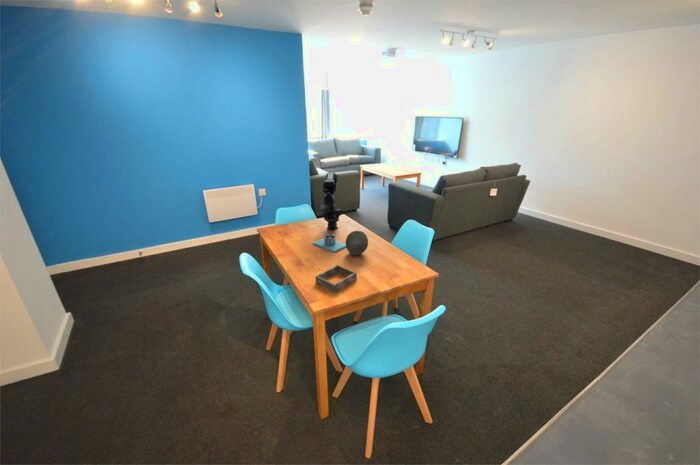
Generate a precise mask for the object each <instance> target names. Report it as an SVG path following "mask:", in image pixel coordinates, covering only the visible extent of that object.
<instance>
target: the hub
mask: <svg viewBox="0 0 700 465" xmlns="http://www.w3.org/2000/svg"><path fill="white" fill-rule="evenodd" d="M329 237H331V238H329ZM323 238H324V243H325V245H327V246H333V245H335V241H336V235H335V234H325V235H324V236H323Z"/></svg>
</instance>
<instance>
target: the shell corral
mask: <svg viewBox="0 0 700 465" xmlns="http://www.w3.org/2000/svg"><path fill="white" fill-rule="evenodd" d="M337 273H338V274H341V275H343V276H346V277H344V278H343V279H341V280H339V281H338V282H336V283H334V282H331V281H329V280H327V279H329V278H330V277H332V276H334V275H336V274H337ZM357 276H358V274H357V272H356V271H354V270H352V269H350V268H346V267H344V266H342V265H339V264H336V265H334V266H333V267H331V268H329V269H326V270H325V271H323V272H321V273H319V274H316V275H315V284H316V285H318V286H321V287H322V288H325V289H326V290H329V291H331V292H332V293H338V291H340V290H342V289H344V288H345V287H347V286H349V285H350V284H352V283H353V282H354V281H356V280H357V278H358V277H357Z"/></svg>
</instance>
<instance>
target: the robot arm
mask: <svg viewBox="0 0 700 465" xmlns="http://www.w3.org/2000/svg"><path fill="white" fill-rule="evenodd" d="M338 179H339V178H338V175H337V174H336V173H335V172H334V171H328V172H327V173H326V174H325V180H324V182H322V183H323V188H322V189H323V190H322V192H323V193H325V194H324V198H323V200H324V201H323V204H321V205H318V206H317V211H319V213H321V214H322V216H323V218H324V221H326V222H327V227H326V229H327V230H330V231H335V230H338V229H339V227H338V222H339V221H340V216H341V215H343V214H344V210H343V209H342V208H336V198H335V197H336V196H335V195H336V191H337V185H338V181H339V180H338Z"/></svg>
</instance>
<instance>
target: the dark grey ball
mask: <svg viewBox="0 0 700 465" xmlns="http://www.w3.org/2000/svg"><path fill="white" fill-rule="evenodd" d="M345 244H346V249H347V251H348V253H349V254H351V255H354V256H358V255H362V254H364V252H365V251H366V250H367V248H368V246H369V239H368V236H367V234H366V233H365V232H363V231H361V230H353V231H351V232H349V234H348V235H347V236H346V238H345Z"/></svg>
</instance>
